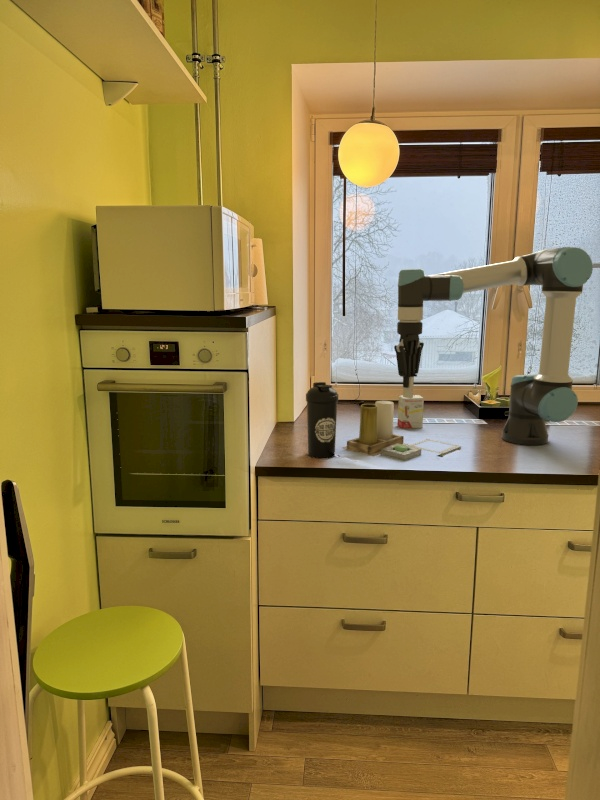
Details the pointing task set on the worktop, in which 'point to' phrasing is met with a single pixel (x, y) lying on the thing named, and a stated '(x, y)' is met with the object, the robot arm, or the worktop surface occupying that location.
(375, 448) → the wooden divided tray
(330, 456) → the water bottle
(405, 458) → the square block with hole
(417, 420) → the ink box
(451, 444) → the rim
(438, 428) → the worktop surface
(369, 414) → the vase
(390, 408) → the cream rounded cylinder
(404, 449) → the button
